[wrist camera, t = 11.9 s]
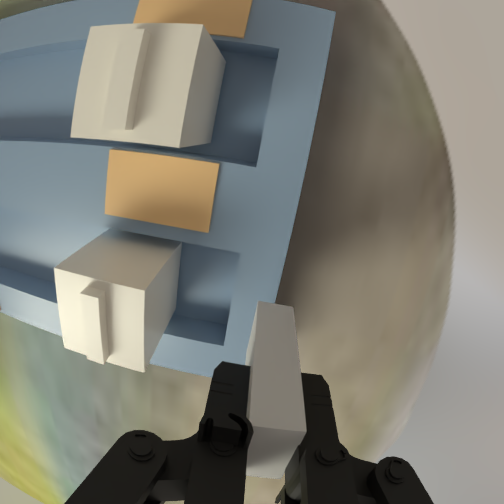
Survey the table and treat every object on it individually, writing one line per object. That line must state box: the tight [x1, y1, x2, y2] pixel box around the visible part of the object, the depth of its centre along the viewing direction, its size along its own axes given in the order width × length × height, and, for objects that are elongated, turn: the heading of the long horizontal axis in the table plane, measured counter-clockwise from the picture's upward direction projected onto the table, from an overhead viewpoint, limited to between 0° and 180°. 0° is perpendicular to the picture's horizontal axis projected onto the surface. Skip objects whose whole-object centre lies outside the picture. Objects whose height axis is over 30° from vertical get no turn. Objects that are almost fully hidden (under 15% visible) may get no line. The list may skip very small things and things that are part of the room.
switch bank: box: [0, 0, 336, 377], centre depth 15 cm, size 26×20×3 cm
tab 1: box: [70, 23, 226, 148], centre depth 11 cm, size 4×4×6 cm
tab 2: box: [54, 228, 182, 373], centre depth 14 cm, size 4×4×6 cm
